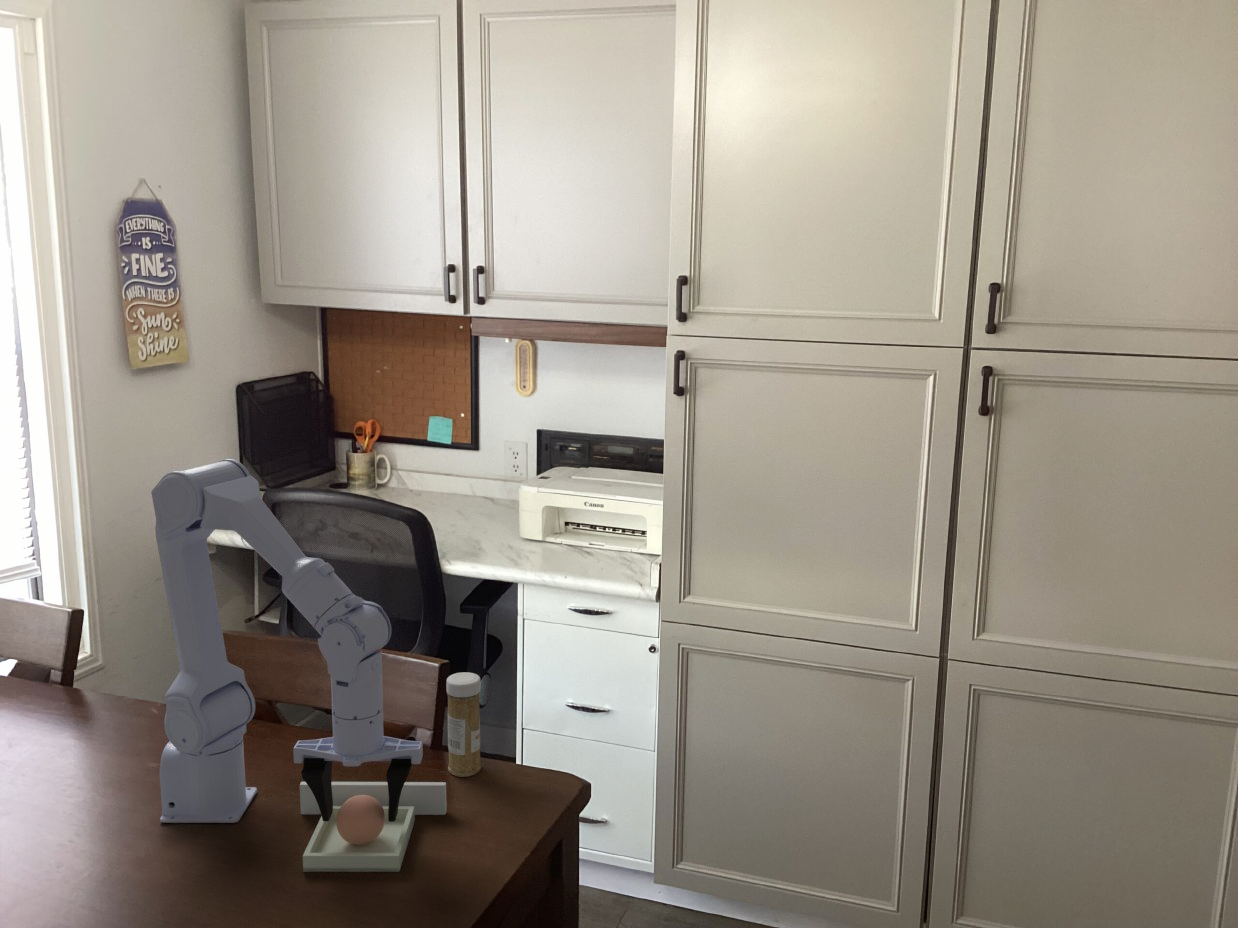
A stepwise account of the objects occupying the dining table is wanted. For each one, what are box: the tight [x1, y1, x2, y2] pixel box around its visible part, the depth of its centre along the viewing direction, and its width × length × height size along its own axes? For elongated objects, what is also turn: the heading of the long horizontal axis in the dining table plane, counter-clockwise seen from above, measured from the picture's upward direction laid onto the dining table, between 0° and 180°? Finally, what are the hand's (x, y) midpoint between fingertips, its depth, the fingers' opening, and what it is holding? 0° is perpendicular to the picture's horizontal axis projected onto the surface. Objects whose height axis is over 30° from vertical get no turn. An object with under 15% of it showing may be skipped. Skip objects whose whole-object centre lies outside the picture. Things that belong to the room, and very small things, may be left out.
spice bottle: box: [445, 671, 482, 778], centre depth 139 cm, size 5×5×14 cm
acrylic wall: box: [299, 781, 447, 816], centre depth 128 cm, size 18×1×4 cm, turn 92°
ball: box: [336, 795, 385, 845], centre depth 121 cm, size 6×6×6 cm
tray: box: [302, 806, 416, 873], centre depth 121 cm, size 11×11×2 cm
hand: (360, 816), depth 121 cm, fingers open, 7 cm apart
